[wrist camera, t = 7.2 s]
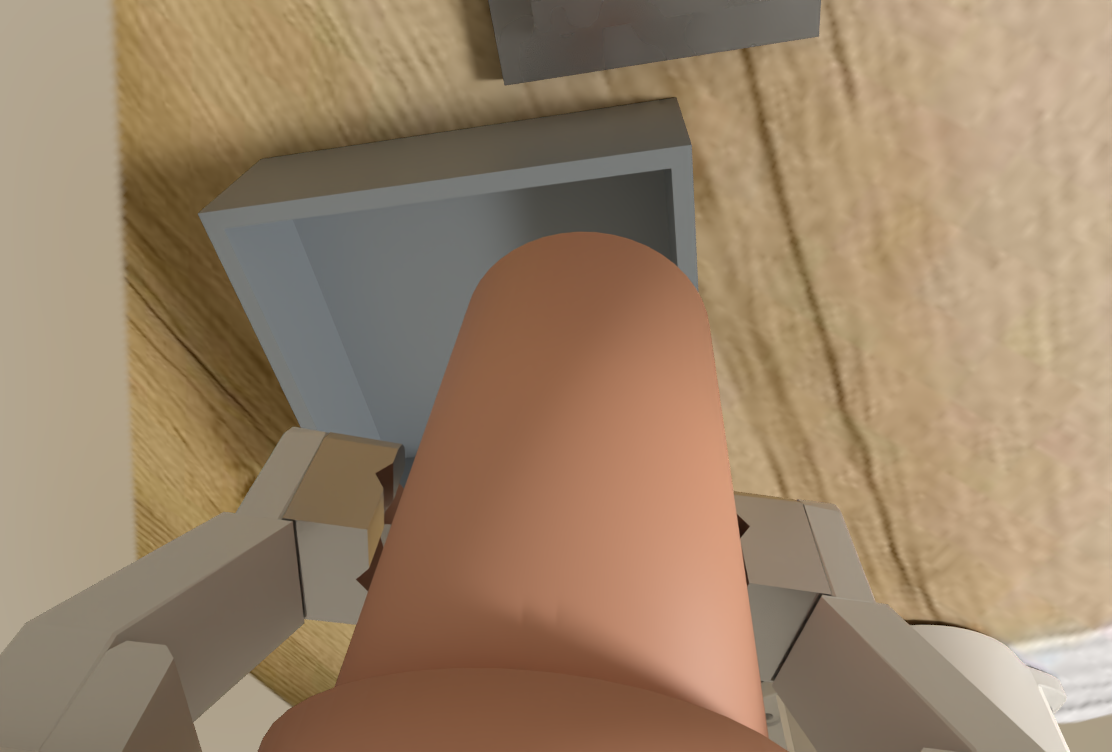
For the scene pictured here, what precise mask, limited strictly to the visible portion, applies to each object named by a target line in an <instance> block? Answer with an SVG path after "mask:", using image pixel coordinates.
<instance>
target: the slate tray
mask: <svg viewBox="0 0 1112 752" xmlns="http://www.w3.org/2000/svg"><path fill="white" fill-rule="evenodd" d="M198 215H199V217H200V219H201V221H202V224H203V226H204V228H205V230H206V232H207V234H208V236H209V238H210V240H211V242H212V244H213V246H214V248H215V251H216V253H217V255H218V257H219V259H220V261H221V263H222V265H223V267H224V269H225V271H226V273H227V275H228V277H229V280H230V282H231V284H232V286H233V288H234V290H235V292H236V294H237V296H238V298H239V300H240V302H241V304H242V306H243V309H244V311H245V313H246V315H247V317H248V319H249V321H250V323H251V325H252V327H253V329H254V331H255V333H256V335H257V338H258V340H259V342H260V344H261V346H262V348H263V350H264V352H265V354H266V356H267V358H268V360H269V362H270V364H271V367H272V369H273V371H274V373H275V375H276V377H277V379H278V381H279V383H280V385H281V387H282V389H283V391H284V393H285V396H286V398H287V400H288V402H289V404H290V406H291V408H292V410H293V412H294V414H295V416H296V418H297V420H298V422H299V425H300V427H301V428H304V429H310V430H316V431H322V432H327V433H330V432H333V433H339V434H345V435H351V436H357V437H363V438H369V439H375V440H381V441H387V442H393V443H399V444H403V446H404V447H405V468H404V471H403V474H402V477H401V480H400V485H401V486H402V487H403V488H405V485H406V482H407V479H408V476H409V473H410V471H411V468H412V465H413V462H414V459H415V456H416V453H417V451H418V448H419V445H420V442H421V439H422V436H423V433H424V431H425V428H426V425H427V422H428V419H429V416H430V413H431V411H432V408H433V405H434V402H435V399H436V396H437V394H438V391H439V388H440V385H441V382H442V379H443V376H444V374H445V371H446V368H447V365H448V362H449V359H450V356H451V354H452V351H453V348H454V345H455V342H456V339H457V336H458V334H459V331H460V328H461V325H462V322H463V319H464V316H465V314H466V311H467V308H468V305H469V302H470V300H471V297H472V294H473V292H474V291H475V289H476V287H477V285H478V283H479V282H480V280H481V279H482V278H483V276H484V275H485V274H486V273H487V271H488V270H489V269H490V268H491V267H492V266H493V265H494V264H495V263H497V262H498V261H499V260H500V259H501V258H503V257H504V256H505V255H507V254H508V253H510V252H511V251H513V250H514V249H516V248H518V247H520V246H522V245H524V244H526V243H528V242H531V241H534V240H537V239H540V238H542V237H546V236H551V235H555V234H560V233H570V232H598V233H605V234H612V235H616V236H620V237H624V238H628V239H631V240H633V241H636V242H638V243H641V244H643V245H646V246H648V247H650V248H651V249H653V250H655V251H657V252H658V253H660V254H662V255H663V256H665V257H666V258H667V259H669V260H670V261H671V262H673V263H674V264H675V265H676V266H677V267H678V268H679V269H680V270H681V271H682V272H683V273H684V274H685V275H686V276H687V277H688V278H689V280H690V281H691V282H692V284H693V285H694V286H695V288H696V289H697V291H698V275H697V253H696V231H695V209H694V188H693V166H692V145H691V142H690V138H689V135H688V132H687V129H686V126H685V123H684V120H683V117H682V113H681V110H680V107H679V104H678V101H677V98H676V97H675V98H669V99H662V100H655V101H649V102H642V103H635V104H628V105H622V106H615V107H608V108H601V109H595V110H588V111H581V112H575V113H568V114H561V115H554V116H548V117H541V118H534V119H528V120H521V121H514V122H507V123H501V124H494V125H487V126H480V127H474V128H467V129H460V130H454V131H447V132H440V133H433V134H427V135H420V136H413V137H407V138H400V139H393V140H386V141H380V142H373V143H366V144H359V145H353V146H346V147H339V148H333V149H326V150H319V151H312V152H306V153H299V154H292V155H286V156H279V157H272V158H265V159H260V160H259V161H258V162H257V163H256V164H255V165H253V166H252V167H251V168H250V169H249V170H248V171H246V172H245V173H244V174H243V175H242V176H241V177H239V178H238V179H237V180H236V181H235V182H234V183H233V184H231V185H230V186H229V187H228V188H227V189H226V190H224V191H223V192H222V193H221V194H220V195H219V196H217V197H216V198H215V199H214V200H213V201H212V202H210V203H209V204H208V205H207V206H206V207H205V208H203V209H202V210H201V211H200V212H199V213H198Z"/></svg>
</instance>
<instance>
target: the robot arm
mask: <svg viewBox="0 0 1112 752" xmlns="http://www.w3.org/2000/svg"><path fill="white" fill-rule="evenodd" d="M404 468H405V447H404V446H403V444H399V443H393V442H387V441H381V440H375V439H369V438H363V437H357V436H351V435H345V434H339V433H333V432H330V433H327V432H322V431H316V430H310V429H304V428H299V427H292V428H290V429H289V430H288V431H286V432H285V433H284V434H283V436H282V437H281V439H280V441H279V442H278V444H277V445H276V447H275V449H274V450H273V452H272V454H271V455H270V457H269V459H268V460H267V462H266V464H265V465H264V467H263V469H262V470H261V472H260V474H259V475H258V477H257V479H256V480H255V482H254V484H253V485H252V487H251V488H250V490H249V492H248V493H247V495H246V497H245V498H244V500H243V502H242V503H241V505H240V507H239V508H238V510H237V512H236V513H229V512H223V513H221V514H219V515H217V516H215V517H214V518H212V519H210V520H208V521H207V522H205V523H203V524H201V525H199V526H198V527H196V528H194V529H192V530H190V531H189V532H187V533H185V534H183V535H182V536H180V537H178V538H176V539H174V540H173V541H171V542H169V543H167V544H165V545H164V546H162V547H160V548H158V549H157V550H155V551H153V552H151V553H149V554H148V555H146V556H144V557H142V558H141V559H139V560H137V561H135V562H133V563H132V564H130V565H128V566H126V567H124V568H123V569H121V570H119V571H117V572H116V573H114V574H112V575H110V576H108V577H107V578H105V579H103V580H101V581H100V582H98V583H96V584H94V585H92V586H91V587H89V588H87V589H85V590H83V591H82V592H80V593H78V594H77V595H75V596H73V597H71V598H69V599H68V600H66V601H64V602H62V603H60V604H59V605H57V606H55V607H53V608H52V609H50V610H48V611H46V612H44V613H43V614H41V615H39V616H37V617H36V618H34V619H32V620H30V621H28V622H26V623H25V625H24V626H23V627H22V628H21V630H20V631H19V632H18V633H17V635H16V636H15V637H14V638H13V640H12V641H11V642H10V643H9V645H8V646H7V647H6V648H5V649H4V651H3V652H2V653H1V655H0V752H202V750H201V747H200V744H199V740H198V737H197V734H196V730H195V727H194V724H193V722H194V721H195V720H196V719H197V718H198V717H200V716H201V715H202V714H203V713H204V712H205V711H206V710H207V709H209V708H210V707H211V706H212V705H213V704H214V703H215V702H216V701H218V700H219V699H220V698H221V697H222V696H223V695H224V694H225V693H226V692H228V691H229V690H230V689H231V688H232V687H233V686H234V685H235V684H237V683H238V682H239V681H240V680H241V679H242V678H243V677H244V676H246V675H247V674H248V673H249V672H250V671H251V670H252V669H253V668H255V667H256V666H257V665H258V664H259V663H260V662H261V661H262V660H264V659H265V658H266V657H267V656H268V655H269V654H270V653H271V652H272V651H274V650H275V649H276V648H277V647H278V646H279V645H280V644H281V643H283V642H284V641H285V640H286V639H287V638H288V637H289V636H290V635H292V634H293V633H294V632H295V631H296V630H297V629H298V628H299V627H300V626H302V625H303V624H304V619H309V620H318V621H328V622H337V623H346V624H355V625H357V622H358V619H359V616H360V613H361V610H362V607H363V605H364V602H365V599H366V596H367V593H368V590H369V587H370V585H371V582H372V579H373V576H374V573H375V570H376V568H377V565H378V562H379V559H380V556H381V553H382V550H383V548H384V545H385V542H386V539H387V536H388V533H389V530H390V528H391V525H392V522H393V519H394V516H395V513H396V510H397V508H398V505H399V502H400V499H401V496H402V493H403V490H404V488H403V487H402V486H401V485H400V480H401V477H402V474H403V471H404ZM733 492H734V499H735V506H736V513H737V520H738V527H739V534H740V541H741V548H742V555H743V562H744V569H745V576H746V583H747V589H748V596H749V603H750V610H751V617H752V624H753V631H754V638H755V645H756V652H757V659H758V666H759V673H760V680H761V681H764V682H761V687H762V694H763V701H764V708H765V715H766V722H767V729H768V736H769V739H770V740H772V741H773V742H775V743H776V744H778V745H779V746H781V747H783V748H784V749H786V750H787V751H789V752H1070V750H1069V748H1068V746H1067V744H1066V742H1065V740H1064V737H1063V735H1062V733H1061V731H1060V728H1059V726H1058V724H1057V721H1056V719H1055V717H1054V714H1055V713H1056V712H1057V711H1058V710H1059V709H1060V707H1061V706H1062V705H1063V704H1064V703H1065V701H1066V694H1065V692H1064V689H1063V687H1062V685H1061V682H1060V680H1059V679H1058V678H1056V677H1054V676H1053V675H1050V674H1048V673H1045V672H1042V671H1040V670H1037V669H1034V668H1031V667H1028V666H1027V665H1025V664H1024V663H1023V662H1022V661H1021V660H1020V659H1019V658H1018V657H1017V656H1016V655H1015V654H1014V652H1013V651H1012V650H1010V649H1009V648H1008V647H1007V646H1006V645H1004V644H1003V643H1001V642H999V641H998V640H996V639H994V638H992V637H989V636H987V635H984V634H982V633H978V632H975V631H971V630H967V629H962V628H957V627H950V626H940V625H909V624H908V623H907V622H906V621H905V620H904V619H902V618H901V617H900V616H899V615H898V614H897V613H896V612H895V611H894V610H893V609H892V608H891V607H890V606H889V605H887V604H882V603H876V601H875V599H874V596H873V594H872V591H871V588H870V586H869V583H868V581H867V578H866V575H865V573H864V570H863V568H862V565H861V563H860V560H859V557H858V555H857V552H856V550H855V547H854V544H853V542H852V539H851V537H850V534H849V531H848V529H847V526H846V524H845V521H844V519H843V516H842V513H841V511H840V509H839V508H838V507H837V506H836V505H835V504H831V503H823V502H815V501H807V500H799V499H798V500H794V499H788V498H781V497H773V496H766V495H758V494H751V493H743V492H736V491H733Z"/></svg>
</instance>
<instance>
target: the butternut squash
mask: <svg viewBox="0 0 1112 752" xmlns="http://www.w3.org/2000/svg"><path fill="white" fill-rule="evenodd" d="M258 752H789V751H787V750H786V749H784V748H783V747H781V746H779V745H778V744H776V743H775V742H773V741H772V740H770V739H769V736H768V729H767V722H766V715H765V708H764V701H763V694H762V687H761V680H760V673H759V666H758V659H757V652H756V645H755V638H754V631H753V624H752V617H751V610H750V603H749V596H748V589H747V583H746V576H745V569H744V562H743V555H742V548H741V541H740V534H739V527H738V520H737V513H736V506H735V499H734V492H733V485H732V478H731V471H730V464H729V457H728V450H727V443H726V436H725V429H724V422H723V415H722V409H721V402H720V395H719V388H718V381H717V374H716V367H715V360H714V353H713V346H712V339H711V332H710V326H709V320H708V315H707V312H706V309H705V306H704V303H703V300H702V299H701V297H700V295H699V293H698V291H697V289H696V288H695V286H694V285H693V284H692V282H691V281H690V280H689V278H688V277H687V276H686V275H685V274H684V273H683V272H682V271H681V270H680V269H679V268H678V267H677V266H676V265H675V264H674V263H673V262H671V261H670V260H669V259H667V258H666V257H665V256H663V255H662V254H660V253H658V252H657V251H655V250H653V249H651V248H650V247H648V246H646V245H643V244H641V243H638V242H636V241H633V240H631V239H628V238H624V237H620V236H616V235H612V234H605V233H598V232H570V233H560V234H555V235H551V236H546V237H542V238H540V239H537V240H534V241H531V242H528V243H526V244H524V245H522V246H520V247H518V248H516V249H514V250H513V251H511V252H510V253H508V254H507V255H505V256H504V257H503V258H501V259H500V260H499V261H498V262H497V263H495V264H494V265H493V266H492V267H491V268H490V269H489V270H488V271H487V273H486V274H485V275H484V276H483V278H482V279H481V280H480V282H479V283H478V285H477V287H476V289H475V291H474V292H473V294H472V297H471V300H470V302H469V305H468V308H467V311H466V314H465V316H464V319H463V322H462V325H461V328H460V331H459V334H458V336H457V339H456V342H455V345H454V348H453V351H452V354H451V356H450V359H449V362H448V365H447V368H446V371H445V374H444V376H443V379H442V382H441V385H440V388H439V391H438V394H437V396H436V399H435V402H434V405H433V408H432V411H431V413H430V416H429V419H428V422H427V425H426V428H425V431H424V433H423V436H422V439H421V442H420V445H419V448H418V451H417V453H416V456H415V459H414V462H413V465H412V468H411V471H410V473H409V476H408V479H407V482H406V485H405V488H404V490H403V493H402V496H401V499H400V502H399V505H398V508H397V510H396V513H395V516H394V519H393V522H392V525H391V528H390V530H389V533H388V536H387V539H386V542H385V545H384V548H383V550H382V553H381V556H380V559H379V562H378V565H377V568H376V570H375V573H374V576H373V579H372V582H371V585H370V587H369V590H368V593H367V596H366V599H365V602H364V605H363V607H362V610H361V613H360V616H359V619H358V622H357V625H356V627H355V630H354V633H353V636H352V639H351V642H350V645H349V647H348V650H347V653H346V656H345V659H344V662H343V664H342V667H341V670H340V673H339V676H338V679H337V682H336V684H335V687H334V688H332V689H329V690H326V691H324V692H321V693H319V694H316V695H314V696H311V697H309V698H307V699H306V700H304V701H302V702H301V703H299V704H297V705H295V706H294V707H292V708H290V709H289V710H287V711H286V712H285V713H284V714H283V715H282V716H281V717H280V718H279V719H277V720H276V721H275V722H274V723H273V724H272V726H271V727H270V729H269V730H268V732H267V733H266V735H265V736H264V738H263V740H262V742H261V745H260V747H259V750H258Z"/></svg>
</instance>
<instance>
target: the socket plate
mask: <svg viewBox="0 0 1112 752" xmlns="http://www.w3.org/2000/svg"><path fill="white" fill-rule="evenodd" d="M488 1H489V7H490V12H491V17H492V22H493V28H494V33H495V38H496V43H497V48H498V54H499V59H500V64H501V69H502V75H503V80H504V85H511V84H518V83H524V82H531V81H537V80H543V79H550V78H556V77H563V76H569V75H575V74H582V73H588V72H595V71H601V70H607V69H614V68H620V67H627V66H633V65H639V64H646V63H652V62H659V61H665V60H671V59H678V58H684V57H691V56H697V55H703V54H710V53H716V52H723V51H729V50H735V49H742V48H748V47H755V46H761V45H767V44H774V43H780V42H787V41H793V40H799V39H806V38H812V37H819V25H820V7H821V0H488Z"/></svg>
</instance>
